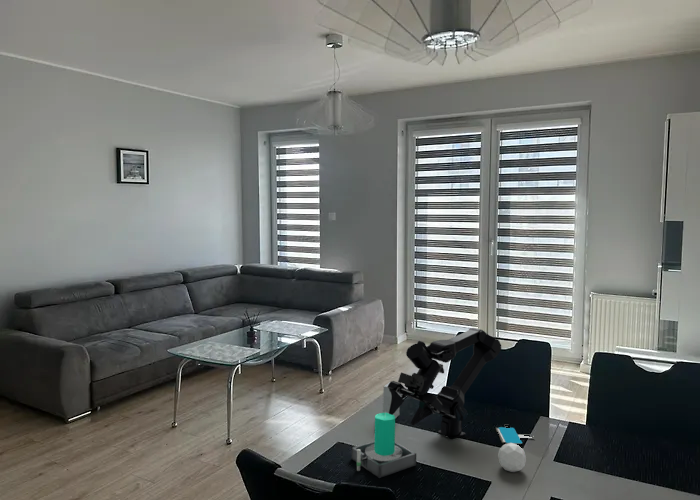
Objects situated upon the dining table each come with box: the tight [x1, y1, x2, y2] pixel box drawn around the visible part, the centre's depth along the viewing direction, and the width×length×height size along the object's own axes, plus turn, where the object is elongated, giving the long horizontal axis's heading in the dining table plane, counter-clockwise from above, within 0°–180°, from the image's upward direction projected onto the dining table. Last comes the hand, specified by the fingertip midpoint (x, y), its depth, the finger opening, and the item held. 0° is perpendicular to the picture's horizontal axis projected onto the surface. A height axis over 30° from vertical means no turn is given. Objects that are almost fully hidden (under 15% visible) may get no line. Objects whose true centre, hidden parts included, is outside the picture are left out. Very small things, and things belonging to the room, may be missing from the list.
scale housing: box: [351, 440, 417, 479], centre depth 157 cm, size 16×14×6 cm
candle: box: [374, 412, 396, 455], centre depth 158 cm, size 6×6×12 cm
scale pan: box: [361, 444, 402, 463], centre depth 157 cm, size 14×11×1 cm
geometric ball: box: [497, 443, 527, 473], centre depth 154 cm, size 8×8×8 cm
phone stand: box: [494, 424, 532, 445], centre depth 177 cm, size 20×12×2 cm, turn 176°
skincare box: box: [382, 381, 401, 419], centre depth 191 cm, size 6×4×12 cm
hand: (400, 420), depth 162 cm, fingers open, 9 cm apart
